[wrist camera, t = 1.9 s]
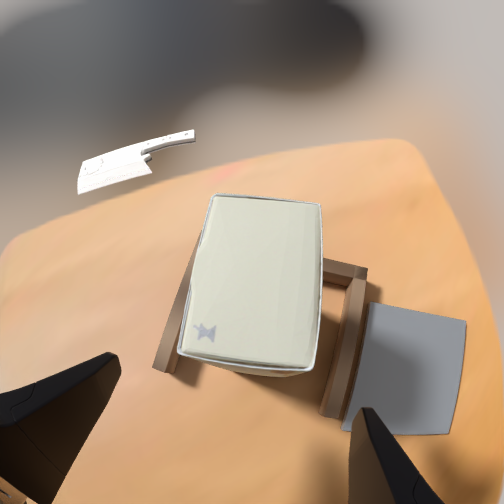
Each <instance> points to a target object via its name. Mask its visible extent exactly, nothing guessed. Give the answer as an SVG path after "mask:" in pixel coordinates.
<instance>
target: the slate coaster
mask: <svg viewBox="0 0 504 504" xmlns="http://www.w3.org/2000/svg"><path fill="white" fill-rule="evenodd" d="M465 331H466V321H465V320H459V319H454V318H449V317H444V316H439V315H433V314H428V313H423V312H419V311H414V310H409V309H404V308H399V307H394V306H389V305H385V304H380V303H375V302H369V303H368V308H367V314H366V321H365V327H364V333H363V338H362V343H361V349H360V354H359V359H358V363H357V368H356V372H355V377H354V381H353V385H352V389H351V393H350V397H349V401H348V405H347V408H346V412H345V415H344V419H343V422H342V425H341V430H343V431H351V428H352V422H353V419H354V418H355V416H356V414H357V413H358V411H359V409H360V408H361V407H372V408H373V409H374V410H375V411H376V413H377V414H378V416H379V417H380V418H381V420H382V421H383V422H384V424H385V425H386V427H387V428H388V429H389V431H390V432H391V434H398V435H426V434H448V432H449V429H450V425H451V421H452V417H453V413H454V409H455V404H456V399H457V394H458V389H459V383H460V377H461V370H462V363H463V354H464V344H465Z"/></svg>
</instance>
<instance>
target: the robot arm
mask: <svg viewBox="0 0 504 504" xmlns="http://www.w3.org/2000/svg"><path fill="white" fill-rule="evenodd" d="M120 376H121V366H120V362H119V358H118V356H117V355H116V354H113V353H111V352H106V353H104V354H101V355H99V356H97V357H94V358H92V359H90V360H87V361H85V362H83V363H81V364H78V365H76V366H73V367H71V368H69V369H66V370H64V371H62V372H59V373H57V374H54V375H52V376H50V377H47V378H45V379H42V380H40V381H37V382H36V383H32V384H30V385H27V386H24V387H22V388H19V389H16V390H12V391H9V392H5V393H1V394H0V504H27V502H26V499H27V497H28V498H30V499H31V500H33V501H34V502H36V503H38V504H52V502H53V500H54V498H55V496H56V494H57V492H58V490H59V488H60V487H61V485H62V483H63V481H64V479H65V476H66V475H67V473H68V471H69V470H70V468H71V466H72V464H73V462H74V460H75V459H76V457H77V455H78V453H79V452H80V450H81V448H82V446H83V445H84V443H85V441H86V439H87V438H88V436H89V434H90V432H91V431H92V429H93V427H94V426H95V424H96V422H97V421H98V419H99V417H100V416H101V414H102V412H103V411H104V409H105V407H106V405H107V404H108V401H109V399H110V397H111V395H112V393H113V391H114V388H115V386H116V384H117V382H118V380H119V378H120ZM348 504H445V503H444V502H443V501H442V500H441V499H440V498H439V497H438V496H437V495H436V493H435V492H434V491H433V490H432V489H431V487H430V486H429V485H428V483H427V482H426V481H425V479H424V478H423V477H422V475H421V474H420V473H419V471H418V470H417V468H416V467H415V466H414V464H413V463H412V461H411V460H410V459H409V457H408V456H407V454H406V453H405V452H404V450H403V449H402V447H401V446H400V445H399V443H398V442H397V441H396V439H395V438H394V436H393V435H392V434H391V432H390V431H389V429H388V428H387V427H386V425H385V424H384V422H383V421H382V420H381V418H380V417H379V416H378V414H377V413H376V411H375V410H374V409H373V408H372V407H361V408H360V409H359V411H358V413H357V414H356V416H355V418H354V419H353V422H352V428H351V440H350V451H349V500H348Z"/></svg>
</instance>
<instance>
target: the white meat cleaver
mask: <svg viewBox="0 0 504 504" xmlns="http://www.w3.org/2000/svg"><path fill="white" fill-rule="evenodd" d="M195 142H196V141H195V132H194V130H189V131H184V132H180V133H176V134H172V135H168V136H164V137H160V138H156V139H152V140H149V141H145V142H141V143H137V144H134V145H130V146H127V147H125V148H122V149H118V150H115V151H112V152H109V153H106V154H103V155H100V156H98V157H95V158H92V159H89V160H87V161H84V162H83V164H82V167H81V168H80V169H81V170H80V174H79V177H78V195H79V194H82V193H86V192H89V191H92V190H95V189H98V188H101V187H104V186H108V185H111V184H114V183H118V182H121V181H124V180H128V179H132V178H135V177H139V176H143V175H146V174H151V173H152V171H151V170H150V168H149V167H148V166H147V163H148V162H150V161H151V160H152V158H151V156H150V154H149V153H152V152H155V151H158V150H161V149H164V148H168V147H172V146H178V145H184V144H191V143H195Z"/></svg>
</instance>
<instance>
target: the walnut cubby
mask: <svg viewBox="0 0 504 504" xmlns="http://www.w3.org/2000/svg"><path fill="white" fill-rule="evenodd" d="M201 233H202V230H201ZM201 233H200V235H199V238H198V240H197V243H196V245H195V248H194V250H193V253H192V255H191V258H190V261H189V263H188V266H187V268H186V271H185V274H184V276H183V279H182V282H181V284H180V287H179V290H178V293H177V295H176V298H175V301H174V304H173V307H172V309H171V312H170V315H169V318H168V321H167V324H166V327H165V330H164V333H163V335H162V338H161V341H160V344H159V348H158V351H157V354H156V357H155V360H154V363H153V366H152V368H154V369H157V370H159V371H162V372H164V373H174V371H175V368H176V365H177V362H178V359H179V356H180V354H178V353H177V346H178V342H179V336H180V331H181V325H182V320H183V315H184V310H185V304H186V300H187V295H188V291H189V286H190V280H191V275H192V270H193V265H194V261H195V257H196V253H197V249H198V245H199V242H200V237H201ZM367 270H368V268H364V267H360V266H356V265H351V264H347V263H343V262H339V261H334V260H330V259H326V258H323V281H325V282H329V283H333V284H338V285H342V286H347V288H346V294H345V300H344V306H343V311H342V317H341V322H340V327H339V332H338V337H337V342H336V346H335V351H334V355H333V359H332V364H331V368H330V372H329V376H328V380H327V384H326V388H325V391H324V395H323V399H322V402H321V406H320V409H319V414H321V415H322V416H323V417H328V418H335V419H338V417H339V414H340V410H341V407H342V403H343V399H344V396H345V392H346V388H347V384H348V380H349V375H350V371H351V367H352V362H353V358H354V353H355V348H356V343H357V338H358V332H359V326H360V321H361V315H362V308H363V301H364V294H365V287H366V279H367Z"/></svg>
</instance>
